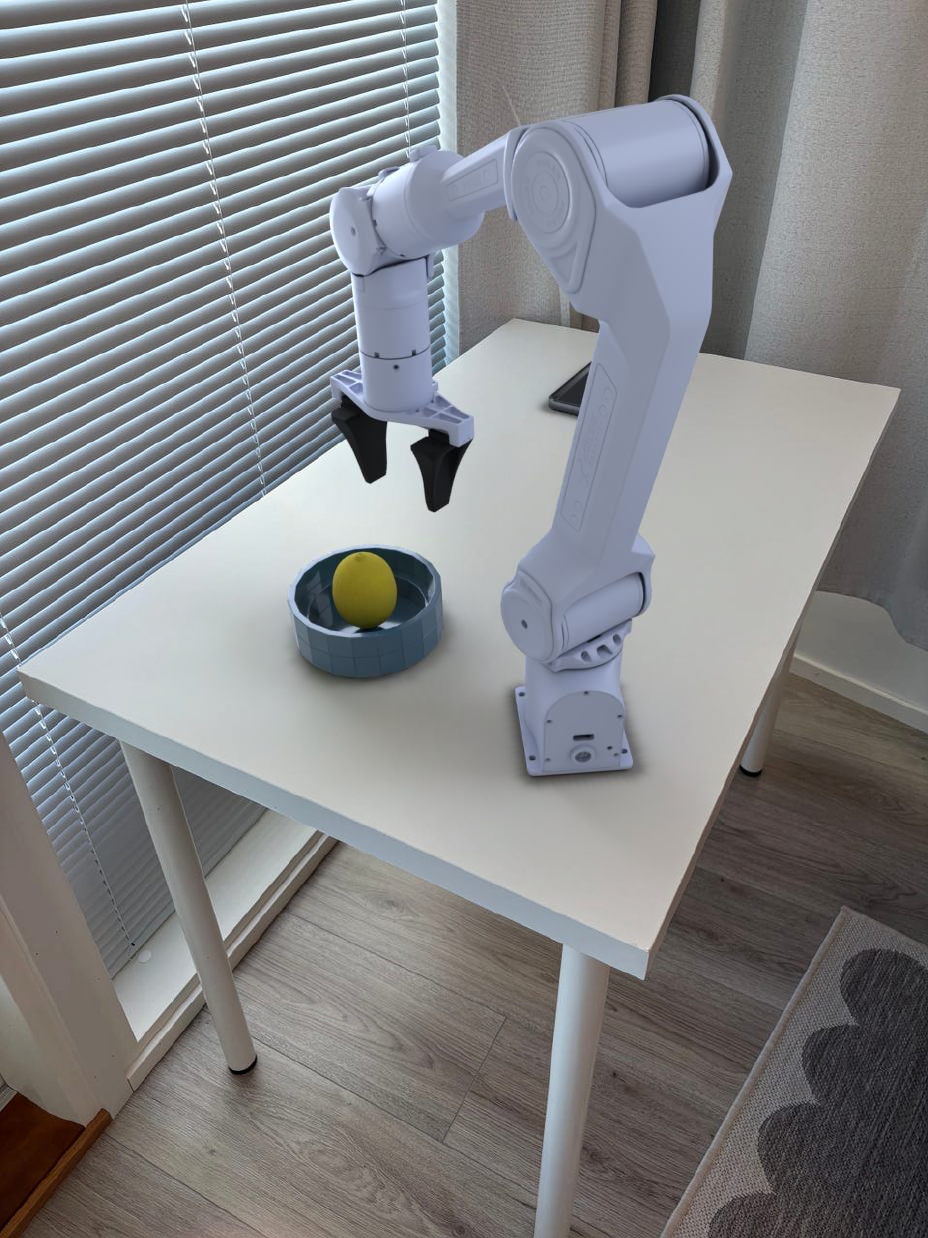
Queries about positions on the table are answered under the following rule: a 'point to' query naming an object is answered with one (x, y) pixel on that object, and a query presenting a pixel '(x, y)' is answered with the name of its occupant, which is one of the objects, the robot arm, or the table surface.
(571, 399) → the phone
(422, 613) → the bowl
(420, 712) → the table surface
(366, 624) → the lemon
